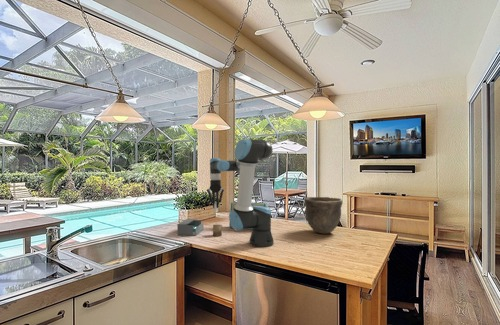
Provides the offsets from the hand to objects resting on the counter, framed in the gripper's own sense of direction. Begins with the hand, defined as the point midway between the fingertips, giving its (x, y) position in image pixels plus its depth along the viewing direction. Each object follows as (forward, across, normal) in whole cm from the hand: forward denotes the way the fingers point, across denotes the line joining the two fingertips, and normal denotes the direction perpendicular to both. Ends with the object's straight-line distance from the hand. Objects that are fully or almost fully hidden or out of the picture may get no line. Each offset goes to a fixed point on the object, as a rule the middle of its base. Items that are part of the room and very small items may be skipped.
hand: (215, 212), depth 197 cm
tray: (+14, +18, 0) cm, 23 cm away
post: (+15, -2, +6) cm, 16 cm away
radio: (+15, -22, -16) cm, 31 cm away
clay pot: (+16, -77, -10) cm, 79 cm away
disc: (+13, +18, 0) cm, 22 cm away
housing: (+14, +18, 0) cm, 23 cm away
